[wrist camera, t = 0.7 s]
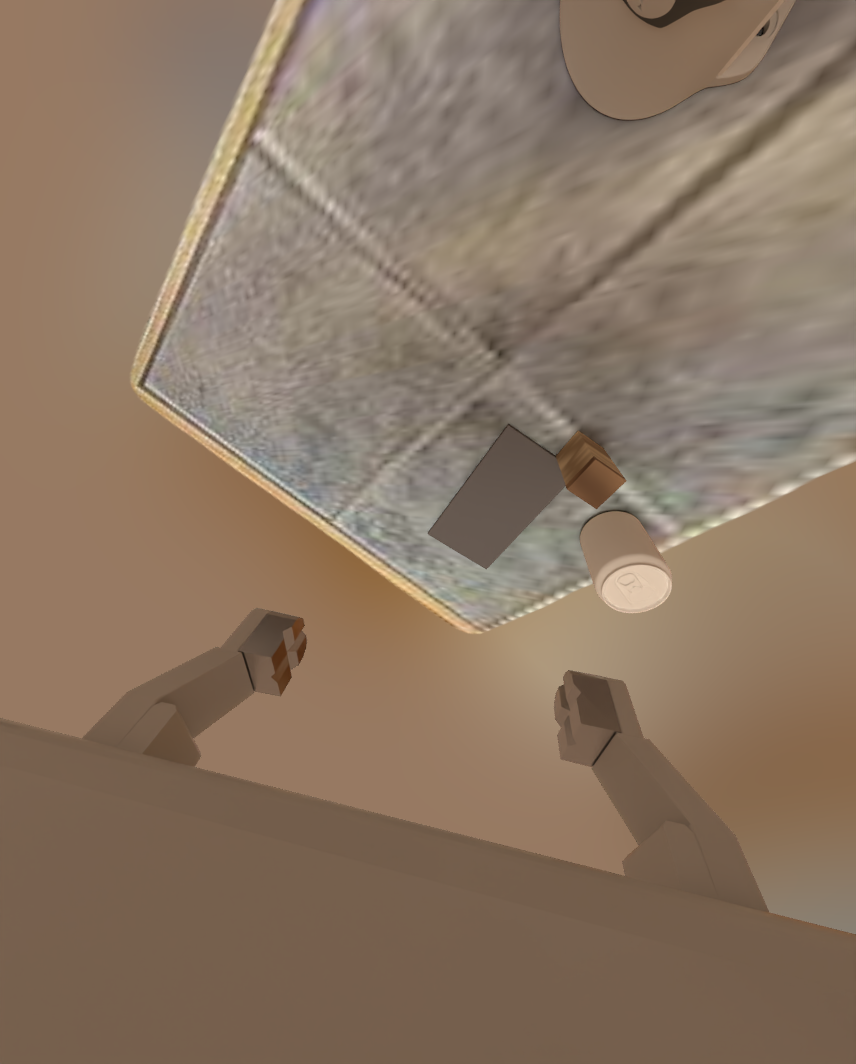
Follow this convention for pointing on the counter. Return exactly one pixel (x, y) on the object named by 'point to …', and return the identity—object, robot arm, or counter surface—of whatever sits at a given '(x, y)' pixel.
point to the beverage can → (625, 563)
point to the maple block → (588, 470)
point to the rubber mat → (499, 498)
